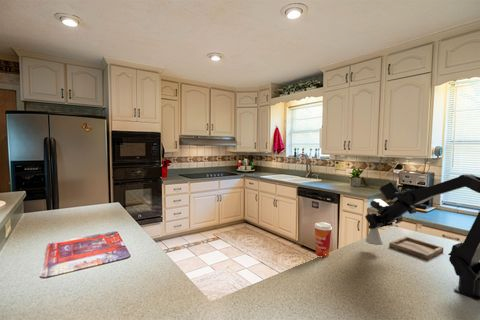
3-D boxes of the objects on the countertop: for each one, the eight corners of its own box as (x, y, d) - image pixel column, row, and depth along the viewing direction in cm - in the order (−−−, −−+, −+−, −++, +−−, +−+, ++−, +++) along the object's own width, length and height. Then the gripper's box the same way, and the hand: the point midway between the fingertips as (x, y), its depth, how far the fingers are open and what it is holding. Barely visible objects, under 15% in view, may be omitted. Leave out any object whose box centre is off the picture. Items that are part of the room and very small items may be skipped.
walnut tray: (427, 260, 106) (427, 255, 106) (389, 246, 120) (389, 242, 119) (443, 252, 114) (443, 247, 114) (405, 240, 128) (405, 236, 128)
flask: (385, 246, 110) (386, 224, 109) (367, 245, 111) (368, 223, 110) (379, 240, 117) (380, 219, 116) (363, 239, 118) (363, 218, 117)
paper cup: (309, 252, 113) (310, 223, 112) (322, 249, 116) (323, 220, 115) (322, 260, 106) (323, 228, 105) (335, 256, 109) (336, 225, 108)
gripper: (396, 192, 113) (373, 210, 124) (369, 196, 105) (347, 215, 115) (414, 213, 106) (388, 230, 117) (387, 219, 98) (362, 236, 109)
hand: (371, 227), depth 115 cm, fingers closed on flask, 3 cm apart
